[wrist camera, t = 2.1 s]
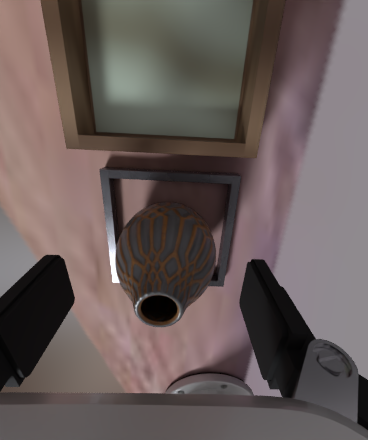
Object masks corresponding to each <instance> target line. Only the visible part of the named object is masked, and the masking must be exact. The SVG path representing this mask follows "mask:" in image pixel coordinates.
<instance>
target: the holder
mask: <svg viewBox="0 0 368 440" xmlns="http://www.w3.org/2000/svg"><path fill="white" fill-rule="evenodd" d="M285 1H286V0H41V6H42V12H43V18H44V23H45V29H46V35H47V40H48V46H49V52H50V57H51V63H52V69H53V74H54V80H55V86H56V91H57V97H58V103H59V109H60V114H61V120H62V126H63V131H64V137H65V143H66V148H67V149H85V150H105V151H124V152H144V153H164V154H184V155H203V156H223V157H243V158H257V152H258V147H259V141H260V136H261V131H262V125H263V120H264V114H265V109H266V104H267V98H268V93H269V87H270V82H271V77H272V71H273V66H274V60H275V55H276V50H277V44H278V39H279V33H280V28H281V23H282V17H283V12H284V6H285Z"/></svg>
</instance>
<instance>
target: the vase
mask: <svg viewBox="0 0 368 440" xmlns="http://www.w3.org/2000/svg"><path fill="white" fill-rule="evenodd" d="M215 262H216V248H215V243H214V239H213V236H212V233H211V231H210V229H209V227H208V225H207V224H206V222H205V221H204V220H203V218H202V217H201V216H200V215H199V214H198V213H196V212H195V211H194V210H192V209H190V208H189V207H187V206H184V205H182V204H178V203H172V202H163V203H157V204H153V205H150V206H148V207H146V208H144V209H142V210H141V211H139V212H138V213H137V214H136V215H134V216H133V218H132V219H131V220H130V221H129V222H128V223H127V225H126V226H125V228H124V229H123V231H122V233H121V235H120V237H119V240H118V243H117V248H116V255H115V266H116V273H117V277H118V280H119V282H120V284H121V286H122V288H123V290H124V291H125V293H126V294H127V295H128V297H129V298H130V299H131V301H132V302H133V307H134V311H135V314H136V316H137V317H138V318H139V319H140V320H141V321H142V322H143V323H145V324H147V325H150V326H153V327H167V326H170V325H173V324H175V323H176V322H177V321H179V320H180V318H181V317H182V315H183V314H184V312H185V310H186V308H187V307H188V306H190V305H191V304H192V303H193V302H195V301H196V300H197V299H198V298H199V297H200V296H201V295H202V294H203V293H204V291H205V290H206V288H207V287H208V285H209V283H210V281H211V278H212V276H213V272H214V268H215Z"/></svg>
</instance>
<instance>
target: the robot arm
mask: <svg viewBox="0 0 368 440" xmlns="http://www.w3.org/2000/svg"><path fill="white" fill-rule="evenodd" d="M74 300H75V297H74V293H73V290H72V286H71V282H70V279H69V275H68V272H67V268H66V264H65V261H64V259H63V258H61V256H60V255H45V256H44V257H43V258H42V259H41V260H39V261H38V262H37V263H36V264H35V265H34V266H33V267H32V268H31V269H30V270H29V271H28V272H27V273H26V274H25V275H24V276H23V277H21V278H20V279H19V280H18V281H17V282H16V283H15V284H14V285H13V286H12V287H11V288H10V289H9V290H8V291H7V292H6V293H5V294H4V295H3V296H1V298H0V391H1V390H2V388H3V387H4V385H5V386H6V387H19V386H20V385H21V383H22V382H23V380H24V379H25V377H28V376H29V375H30V374H31V372H32V371H33V369H34V368H35V366H36V364H37V363H38V361H39V359H40V358H41V356H42V354H43V353H44V351H45V350H46V348H47V346H48V345H49V343H50V341H51V339H52V338H53V337H54V335H55V333H56V332H57V330H58V328H59V327H60V325H61V323H62V322H63V320H64V319H65V317H66V315H67V314H68V312H69V310H70V309H71V307H72V306H73V304H74ZM240 308H241V311H242V315H243V318H244V321H245V324H246V327H247V330H248V334H249V337H250V340H251V343H252V346H253V349H254V353H255V356H256V359H257V362H258V365H259V368H260V372H261V375H262V377H263V379H264V380H267V381H268V384H269V388H270V389H279V390H280V392H281V395H282V397H273V396H254V395H253V392H252V390H251V389H250V387H249V386H248V385H247V384H245V383H244V382H243V381H241V380H239V379H237V378H235V377H232V376H228V375H223V374H213V373H207V374H198V375H193V376H189V377H186V378H183V379H181V380H179V381H177V382H175V383H174V384H173V385H172V386H170V387H169V389H168V390H167V391H166V393H165V394H158V393H0V440H368V380H367V379H366V378H364V377H362V376H361V375H359V374H358V369H357V367H356V365H355V363H354V361H353V360H352V358H351V357H350V356H349V355H348V354H347V353H346V352H345V351H344V350H343V349H341V348H340V347H339V346H337V345H335V344H334V343H332V342H329V341H327V340H322V339H315V337H314V335H313V334H312V332H311V331H310V329H309V327H308V326H307V325H306V323H305V321H304V319H303V318H302V316H301V314H300V313H299V311H298V310H297V308H296V306H295V305H294V303H293V302H292V300H291V299H290V297H289V295H288V294H287V292H286V291H285V289H284V288H283V287H281V286H280V285H279V284H278V282H277V280H276V279H275V277H274V275H273V274H272V272H271V270H270V269H269V267H268V265H267V264H266V262H265V261H264V260H260V259H252V260H251V262H248V263H247V267H246V272H245V277H244V282H243V286H242V291H241V296H240Z"/></svg>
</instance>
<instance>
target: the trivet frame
mask: <svg viewBox="0 0 368 440" xmlns="http://www.w3.org/2000/svg"><path fill="white" fill-rule="evenodd" d="M100 178H101V186H102V194H103V203H104V211H105V220H106V228H107V237H108V245H109V254H110V262H111V271H112V279H113V282H118V283H120V282H119V280H118V277H117V273H116V266H115V255H116V248H117V243H118V240H119V234H118V223H117V212H116V202H115V191H114V180H113V178H119V179H140V180H161V181H181V182H202V183H223V184H229V186H228V193H227V200H226V207H225V214H224V222H223V229H222V236H221V243H220V250H219V258H218V265H217V272H216V274H213V276H212V278H211V281H210V283H209V285H208V286H222V287H223V285H224V279H225V273H226V267H227V261H228V255H229V248H230V242H231V236H232V230H233V224H234V217H235V211H236V205H237V199H238V193H239V187H240V180H241V176H240V175H239V174H232V173H211V172H191V171H171V170H150V169H130V168H109V167H104V168H102V169H100Z"/></svg>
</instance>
